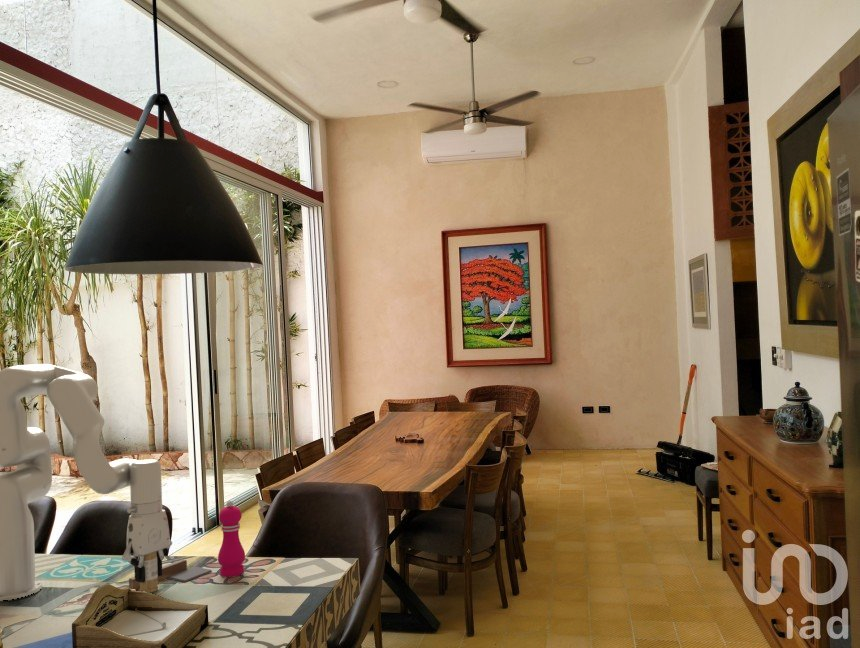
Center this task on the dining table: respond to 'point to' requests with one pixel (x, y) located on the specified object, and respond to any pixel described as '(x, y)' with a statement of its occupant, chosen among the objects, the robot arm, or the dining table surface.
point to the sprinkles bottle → (150, 573)
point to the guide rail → (163, 572)
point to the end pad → (189, 574)
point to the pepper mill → (231, 542)
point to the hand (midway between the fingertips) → (148, 577)
